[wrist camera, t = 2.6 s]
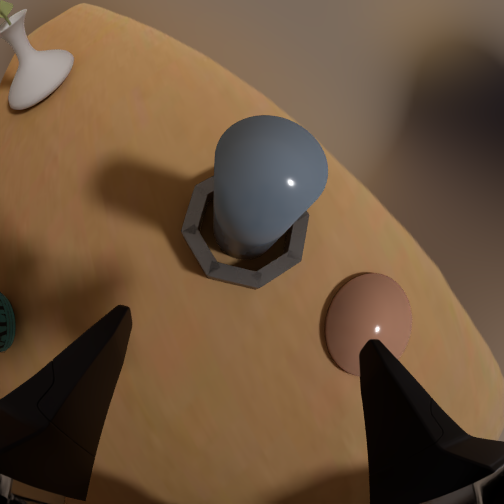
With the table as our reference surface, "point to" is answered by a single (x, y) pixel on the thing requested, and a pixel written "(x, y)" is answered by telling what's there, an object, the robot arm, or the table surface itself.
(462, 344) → the table surface
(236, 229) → the blue-grey cylinder
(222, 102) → the table surface
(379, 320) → the terracotta coaster
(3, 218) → the table surface
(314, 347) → the table surface
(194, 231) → the dark grey octagonal ring
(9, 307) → the beverage bottle
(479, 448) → the robot arm
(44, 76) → the flower in vase
